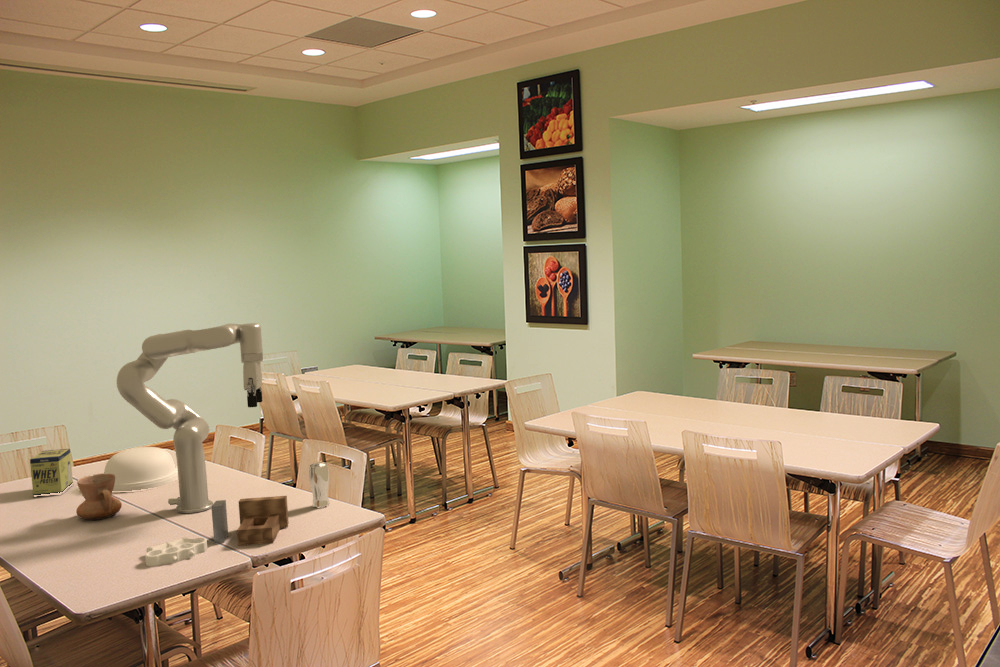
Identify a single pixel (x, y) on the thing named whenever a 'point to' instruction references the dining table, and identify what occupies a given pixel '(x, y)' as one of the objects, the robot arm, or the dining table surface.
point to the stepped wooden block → (261, 519)
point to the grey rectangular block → (219, 521)
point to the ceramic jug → (98, 497)
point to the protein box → (51, 471)
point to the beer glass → (319, 483)
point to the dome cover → (141, 468)
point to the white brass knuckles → (175, 551)
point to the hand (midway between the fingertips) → (255, 404)
